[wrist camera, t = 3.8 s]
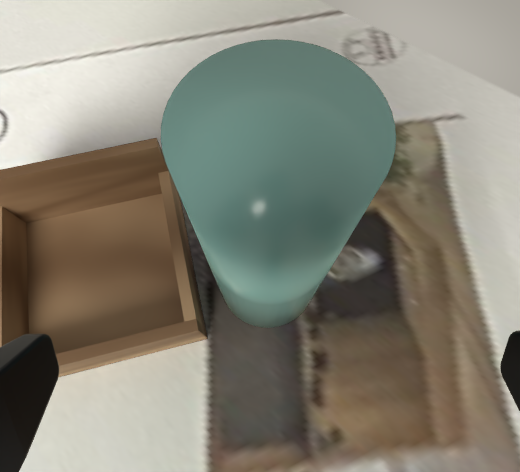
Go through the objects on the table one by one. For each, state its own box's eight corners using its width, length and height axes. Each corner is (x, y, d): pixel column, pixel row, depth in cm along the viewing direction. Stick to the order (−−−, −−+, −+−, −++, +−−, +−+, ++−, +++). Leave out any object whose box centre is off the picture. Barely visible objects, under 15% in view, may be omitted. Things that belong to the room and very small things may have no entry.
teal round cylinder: (317, 327, 19) (413, 232, 7) (217, 328, 19) (148, 233, 7) (312, 234, 21) (380, 39, 9) (221, 235, 21) (171, 40, 9)
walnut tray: (207, 338, 18) (190, 323, 14) (31, 384, 18) (-51, 383, 13) (178, 191, 22) (156, 137, 17) (27, 224, 21) (-40, 178, 16)
